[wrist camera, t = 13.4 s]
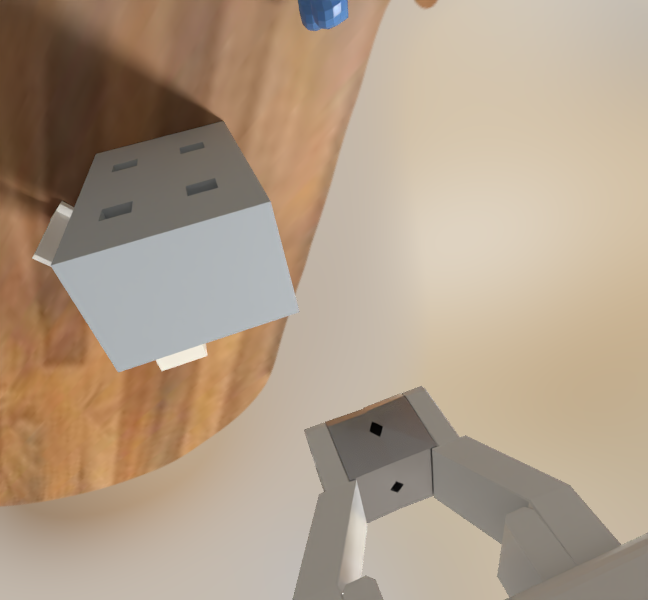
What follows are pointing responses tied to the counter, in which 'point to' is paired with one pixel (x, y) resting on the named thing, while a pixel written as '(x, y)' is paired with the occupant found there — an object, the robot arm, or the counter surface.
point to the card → (53, 234)
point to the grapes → (322, 13)
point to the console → (173, 247)
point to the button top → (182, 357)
